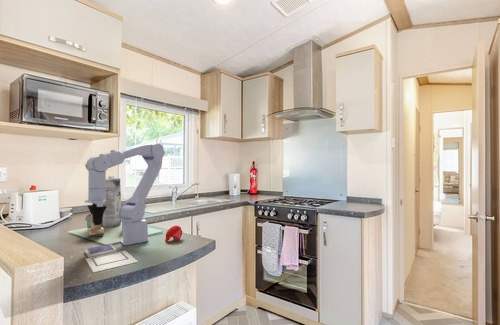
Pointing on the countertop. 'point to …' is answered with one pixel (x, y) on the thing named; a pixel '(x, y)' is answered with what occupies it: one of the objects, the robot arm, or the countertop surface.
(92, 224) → the stamp
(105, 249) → the ink pad
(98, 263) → the paper
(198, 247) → the countertop surface
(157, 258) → the countertop surface
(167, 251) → the countertop surface
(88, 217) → the food container
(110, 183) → the juice carton
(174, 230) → the red rounded piece
